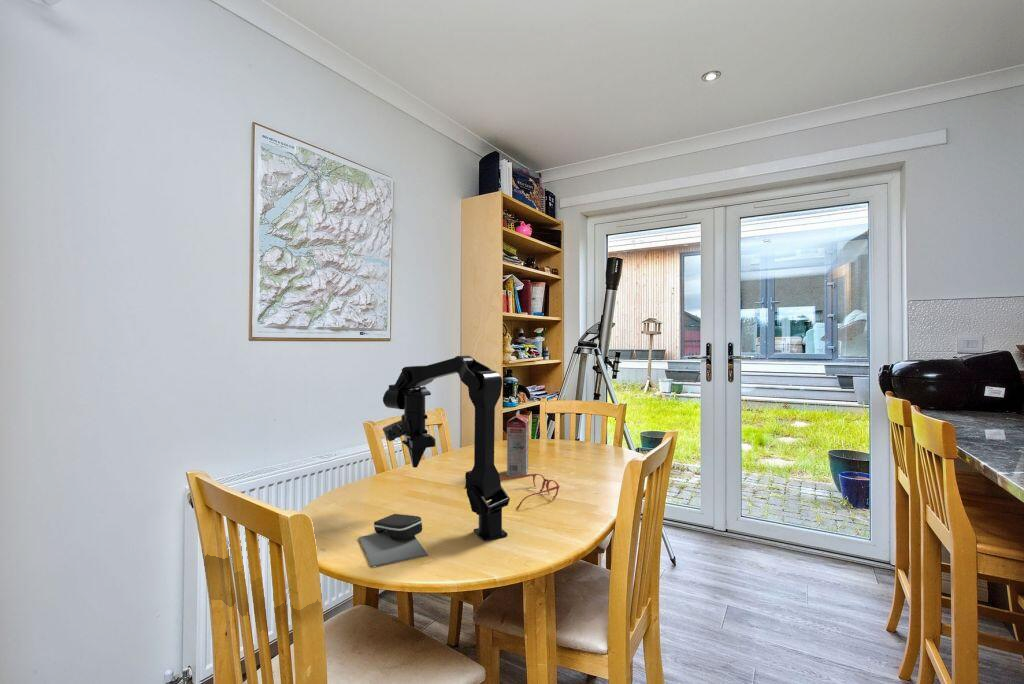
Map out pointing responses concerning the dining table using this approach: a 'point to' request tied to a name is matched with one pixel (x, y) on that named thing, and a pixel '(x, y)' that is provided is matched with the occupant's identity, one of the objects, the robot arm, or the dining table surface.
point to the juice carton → (517, 445)
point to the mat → (390, 549)
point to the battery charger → (399, 526)
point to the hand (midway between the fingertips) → (414, 467)
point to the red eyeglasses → (535, 486)
